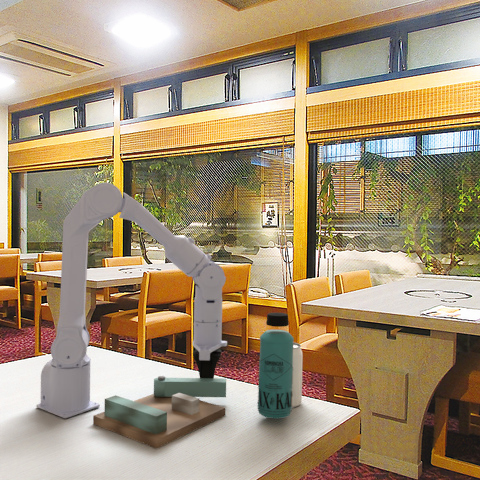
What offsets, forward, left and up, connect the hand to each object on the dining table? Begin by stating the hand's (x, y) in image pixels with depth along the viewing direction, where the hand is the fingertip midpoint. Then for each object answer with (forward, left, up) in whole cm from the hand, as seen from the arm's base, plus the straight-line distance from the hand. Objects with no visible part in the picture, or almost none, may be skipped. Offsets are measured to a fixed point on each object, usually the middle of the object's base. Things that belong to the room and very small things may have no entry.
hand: (206, 386), depth 102 cm
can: (+14, +9, -3) cm, 17 cm away
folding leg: (-1, -4, -1) cm, 4 cm away
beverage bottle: (+17, 0, -3) cm, 17 cm away
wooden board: (0, -13, -3) cm, 13 cm away
